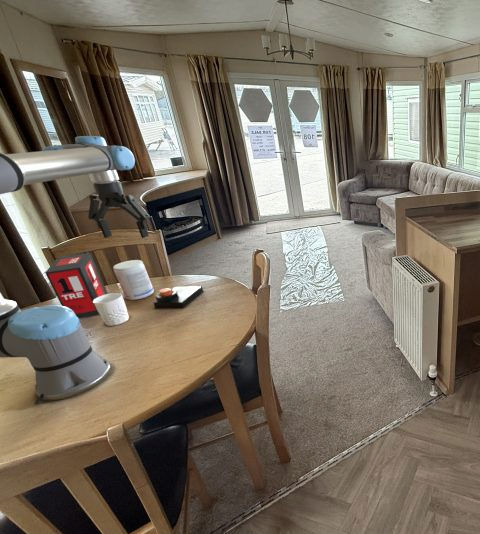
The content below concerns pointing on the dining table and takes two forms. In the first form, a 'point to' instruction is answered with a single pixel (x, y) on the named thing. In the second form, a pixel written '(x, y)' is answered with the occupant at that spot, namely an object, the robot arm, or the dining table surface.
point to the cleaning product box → (77, 283)
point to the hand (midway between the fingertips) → (126, 236)
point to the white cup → (111, 308)
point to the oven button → (165, 292)
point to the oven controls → (178, 297)
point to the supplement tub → (133, 279)
